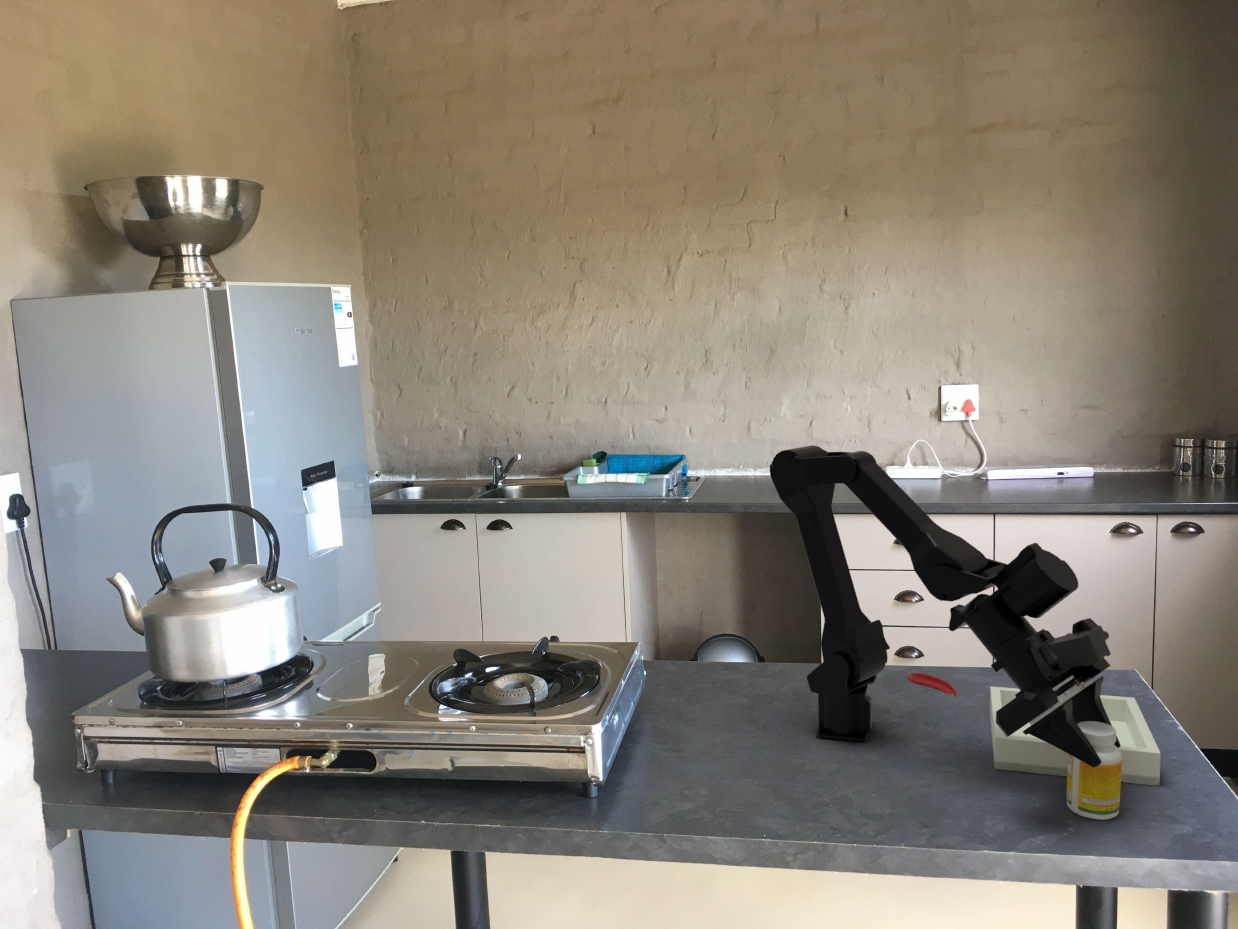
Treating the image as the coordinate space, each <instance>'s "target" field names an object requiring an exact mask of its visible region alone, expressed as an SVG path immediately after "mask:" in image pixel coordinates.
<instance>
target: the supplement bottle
mask: <svg viewBox="0 0 1238 929" xmlns="http://www.w3.org/2000/svg"><path fill="white" fill-rule="evenodd" d="M1077 725H1078V726H1079V728H1080V729H1081V730H1082V732H1083V733H1084V735H1085V736H1086V738H1087V739H1088V741H1089V742H1090V744H1091V745H1092V747H1093V748H1094V749H1095V751H1096V753H1097V754H1098V756H1099V758H1100V759H1101V764H1100V765H1098V766H1096V767H1091V766H1090V765H1088V764H1086V763H1084V762H1082V761H1081V760H1079V759H1077V758H1075V757H1073V756H1072V755H1070V754H1068V770H1067V776H1066V806H1067V807H1068V808H1069V810H1070V811H1071V812H1073V813H1075V815H1079V816H1081V817H1084V818H1088V819H1092V820H1093V819H1094V820H1102V821H1106V820H1110V819H1113V818H1115V817H1117V816H1118V815H1119V812H1120V803H1121V785H1122V784H1121V783H1122V782H1121V766H1122V755H1121V752H1120V750H1119V749H1118V748H1117V747H1116V746H1115V745H1114V744H1115V742H1116V730H1115V728H1114V727H1112V726H1111V725H1108V724H1105V723H1102V722H1096V721H1084V722H1080V723H1078V724H1077Z"/></svg>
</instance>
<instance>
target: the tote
mask: <svg viewBox="0 0 1238 929" xmlns="http://www.w3.org/2000/svg"><path fill="white" fill-rule="evenodd" d="M989 688H990V689H989V690H990V692H989V719H990V720H989V721H990V730H991V743H992V754H993V766H994V767H993V768H994V770H1003V771H1011V772H1020V773H1021V772H1022V773H1032V774H1042V775H1048V776H1049V775H1051V776H1059V777H1060V776H1062V777H1067V770H1068V753H1066V752H1064V751H1063V750H1061V749H1059V748H1057V747H1055V746H1053V745H1051V744H1049V743H1047V742H1045V741H1043V740H1041V739H1039V738H1037V737H1035V736H1033V735H1030V734H1027V735H1025V734H1024V733H1023V731H1024V730H1025V729H1027V728H1028V727H1030V726H1031V724H1030V723H1027V724H1026V725H1024V726H1023V727H1022V728H1020V729H1019V730H1017V731H1016V732H1014V733H1013V734H1011V735H1010V736H1008V737H1007V736H1006V735H1005V734H1004V733H1003V731H1002V730H1001V729H1000V727H999V726H998V725H997V724H996V711H998V710H999V709H1001V708H1002V707H1003V706H1005V705H1006V704H1008V703H1009V702H1010V701H1012V700H1013V699H1015V698H1016V696H1015V695H1016V694H1017V693H1019V692H1020V690H1019V688H1018V687H1017V688H1016V687H1003V686H1001V687H1000V686H991V685H990V687H989ZM1058 698H1059V697H1058ZM1100 698H1101V701H1102V704H1103V706H1104V709H1105V711H1106V714H1107V716H1108V718H1109V720H1110V722H1111V725H1112V727H1114V728H1115V730H1116V736H1117V738H1118V740H1119V742H1120V745H1121V746H1120V747H1119V748H1118V749H1119V750H1120V752H1121V755H1122V766H1121V783H1128V784H1138V785H1147V786H1155V787H1156V786H1157V787H1160V781H1161V777H1160V776H1161V757H1162V756H1161V755H1162V753H1161V751H1160V749H1159V746H1158V745H1157V743H1156V740H1155V739H1154V736H1153V734H1152V732H1151V730H1150V727H1149V726H1148V724H1147V721H1146V719H1145V717H1144V715H1143V713H1142V711H1141V709H1140V706H1139V705H1138V702H1137V701H1136V698H1135V697H1129V696H1118V695H1116V696H1115V695H1105V694H1103V695H1102V694H1100ZM1059 699H1060V698H1059ZM1060 700H1061V699H1060ZM1061 701H1062V700H1061Z"/></svg>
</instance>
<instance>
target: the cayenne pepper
mask: <svg viewBox="0 0 1238 929" xmlns="http://www.w3.org/2000/svg"><path fill="white" fill-rule="evenodd" d="M907 679H908V680H909V681H910V682H911V683H912V684H916V685H919V686H922V687H923V686H924V687H927V686H928V687H927V688H931V687H932V688H931V689H934V688H935V689H934V690H937V689H938V690H937V691H940V690H941V692H942V691H943V692H942V693H945V694H947V693H949V694H954V695H955V696H954V697H955V698H956V697H957V696H958V695H957V696H956V693H958V694H959V692H958V690H956V689H955V688H954V687H953V686H952V685H951V684H950V682H948V681H947V680H945V679H942V678H939V677H936V676H934V675H931V674H927V673H924V672H923V673H922V672H912V671H911V673H910V675H907ZM949 694H948V695H949Z"/></svg>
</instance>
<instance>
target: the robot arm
mask: <svg viewBox="0 0 1238 929" xmlns="http://www.w3.org/2000/svg"><path fill="white" fill-rule="evenodd" d="M769 475H770V479H771V481H772V483H773V486H774V489H775V491H776V494H777V495H778V497H779V499H780V500H781V502H782V503H783V504H784V505H785V506H786V507H787V509H789V511H790V512H791V513H792V514H793V515H794V517H795V519H796V523H797V526H798V530H799V534H800V535H801V536H800V537H801V540H802V543H803V544H802V545H803V548H804V550H805V551H804V552H805V554H806V557H807V561H808V566H809V569H810V571H811V575H812V579H813V583H814V586H815V590H816V592H817V593H816V594H817V597H818V600H819V605H820V607H821V610H822V614H823V618H824V623H823V628H822V634H821V640H820V648H821V656H822V662H821V663H820V664H819V665H818V666H816V668H815V669H813V670H812V671H811V672H810V673H809V674H807V675H806V680H807V683H808V686H809V691H810V692H811V693H814V694H817V707H818V708H817V715H818V717H817V718H818V719H817V720H818V723H817V728H816V732H815V736H816V737H817V738H820V739H821V738H822V739H830V740H831V739H833V740H842V741H852V742H860V743H861V742H866V741H867V736H868V734H869V733H871V732H872V731H871V730H872V726H873V697H872V696H868V685H870V684H874V683H875V682H876V679H877V676H878V674H879V673H881V672H882V671H883V670H884V668H885V666H886V664H887V663H888V660H889V659H888V650H890V649H891V647H890V645H889V644H888V642H887V640H886V638H885V634H884V627H883V624H882V621H881V620H880V619H877V620H874V621H871V620H870V619H869V618H868V616H866V615H865V613H864V612H863V610H862V609H861V607H860V602H859V599H858V595H857V593H856V589H855V586H854V585H855V584H854V581H853V578H852V576H851V574H852V573H851V570H850V568H849V565H848V560H847V557H846V554H845V551H844V547H843V546H844V545H843V544H842V540H841V537H840V533H839V530H838V527H837V524H836V523H837V522H836V518H835V515H834V512H833V506H832V504H833V499H834V493H835V488H836V484H844V485H845V486H846V487H847V488H848V489H849V491H851V492H852V493H853V495H855V496H856V498H857V499H858V500H859V501H860V502H861V503H862V504H863V505H864V506H865V507H866V508H867V510H869V511H870V512H871V514H873V516H874V517H875V518H876V519H877V520H878V521H879V522H880V523H881V525H883V526H884V527H885V529H886V530H888V532H889V533H890V534H891V535H892V536H893V537H894V538H895V539H896V541H898V542H899V543H900V544H901V546H903V548H904V550H905V551H906V552H907V554H908V556H909V558H910V562H911V565H912V567H913V570H914V572H915V574H916V575H917V577H918V579H920V581H921V583H922V585H924V587H925V589H926V590H927V591H928V593H929V594H930V595H931V596H933V598H935V599H937V600H938V601H940V602H942V601H943V602H954V601H958V600H961V599H963V598H965V597H966V598H967V597H968V596H971V595H972V594H974V595H976V594H977V595H976V596H975V597H974V598H972V599H971V600H970V601H969V602H967V603H966V604H965V605H962V604H960V603H959V604H957V605H955V606H953V607H951V608H950V609H949V612H950V618H949V623H948V630H949V631H951V632H955V631H957V630H959V629H960V628H963V627H964V626H967V627H968V628H969V629H970V630H971V631H972V633H973V634H974V635H975V637H976V639H978V640H979V641H980V643H981V644H982V645H983V647H985V649H986V651H987V652H988V653H989V654H990V655H991V656H992V657H993V659H994V660H995V661H994V662H993V663H992V664H991V665H990V667H991V668H992V669H993V670H994V671H995V673H999V672H1000V671H1001V670H1002V671H1004V672H1005V674H1006V675H1007V677H1008V678H1009V679H1010V680H1011V681H1012V683H1013V684H1014V685H1015V686H1016V687H1017V689H1019V690H1020V692H1019V693H1017V694H1016V695H1015V696H1016V698H1015V699H1013V700H1012V701H1010V702H1009V703H1008V704H1006V705H1005V706H1003V707H1002V708H1001V709H999V710H998V711H996V724H997V725H998V726H999V727H1000V729H1001V730H1002V731H1003V733H1004V734H1005V735H1006V736H1007V737H1008V736H1010V735H1011V734H1013V733H1014V732H1016V731H1017V730H1019V729H1020V728H1022V727H1023V726H1024V725H1026V724H1027V723H1030V724H1031V726H1030V727H1028V728H1027V729H1025V730H1024V731H1023V733H1024V734H1025V735H1027V734H1030V735H1033V736H1035V737H1037V738H1039V739H1041V740H1043V741H1045V742H1047V743H1049V744H1051V745H1053V746H1055V747H1057V748H1059V749H1061V750H1063V751H1064V752H1066V753H1068V754H1070V755H1072V756H1073V757H1075V758H1077V759H1079V760H1081V761H1082V762H1084V763H1086V764H1088V765H1090V766H1091V767H1096V766H1098V765H1100V764H1101V759H1100V758H1099V756H1098V754H1097V753H1096V751H1095V749H1094V748H1093V747H1092V745H1091V744H1090V742H1089V741H1088V739H1087V738H1086V736H1085V735H1084V733H1083V732H1082V730H1081V729H1080V728H1079V726H1078V725H1077V724H1078V723H1080V722H1084V721H1096V722H1102V723H1105V724H1108V725H1111V722H1110V720H1109V718H1108V716H1107V714H1106V711H1105V709H1104V706H1103V704H1102V701H1101V698H1100V695H1101V692H1102V685H1103V682H1104V680H1105V679H1104V678H1105V677H1104V675H1102V676H1100V677H1099V678H1098V679H1096V680H1092V679H1093V678H1095V677H1097V675H1100V674H1101V673H1103V672H1104V671H1105V670H1107V669H1108V668H1109V667H1111V664H1110V663H1109V662H1108V661H1107V660H1106V659H1105V657H1109V656H1111V654H1112V653H1111V650H1110V649H1109V646H1108V645H1107V640H1108V639H1109V638H1110V635H1109V632H1108V631H1105V630H1104V629H1103V627H1102V625H1098V623H1096V622H1095V620H1094V619H1092V618H1090V617H1089V618H1085V619H1081V620H1078V621H1076V622H1074V623H1073V624H1072V629H1071V630H1072V631H1071V632H1070V633H1066V634H1065V635H1062V636H1058V637H1054V635H1053V634H1052V633H1051V632H1050V631H1049V630H1047V629H1046V630H1045V629H1044V628H1042V629H1041V630H1039V631H1037V630H1036V629H1035V627H1034V626H1033V625H1032V624H1031V623H1030V622H1029V621H1028V620H1027V618H1026V617H1029V618H1032V619H1040V618H1041V617H1043V616H1044V615H1045V614H1047V613H1048V612H1049V611H1050V610H1052V609H1053V608H1055V607H1056V606H1057V605H1058V604H1059V603H1061V602H1062V601H1063V600H1064V599H1066V598H1067V597H1069V596H1070V595H1071V594H1073V593H1074V592H1075V591H1076V590H1078V588H1079V580H1078V578H1077V575H1076V574H1075V572H1074V569H1072V567H1071V566H1070V565H1069V564H1068V563H1067V562H1066V560H1062V558H1060V557H1058V556H1057V555H1056V554H1054V553H1052V552H1050V551H1047V550H1045V549H1043V548H1042V546H1040V545H1039V544H1038V542H1034V543H1031V544H1027V546H1025V547H1024V548H1023V549H1021V550H1020V551H1019V553H1018V555H1017V556H1016V557H1015V558H1014V559H1012V560H1011V561H1010V562H1009V563H1008V564H1007V563H1005V562H1002V561H999V560H998V561H997V560H994V559H991V558H987V557H986V556H985V554H983V552H981V551H980V550H979V549H978V548H976V547H975V546H974V545H972V543H970V542H968V541H966V539H965V538H963V537H961V536H959V535H957V534H955V533H953V532H951V531H948V530H946V529H944V528H942V527H941V526H940V525H938V524H937V523H936V522H935V521H934V520H932V518H930V516H929V515H928V514H927V513H926V512H925V511H924V510H923V509H922V508H921V507H920V506H919V505H918V504H917V502H915V501H914V499H912V498H911V497H910V496H909V494H907V493H906V492H905V491H904V490H903V489H902V487H900V485H899V484H897V483H896V481H895V480H894V479H893V478H892V477H891V476H889V474H888V473H887V472H886V471H885V470H884V469H883V468H882V467H881V466H880V465H879V464H878V463H877V460H876V458H875V457H874V455H873V454H871V453H869V452H868V451H864V450H857V451H853V452H851V451H827V450H826V449H823V448H822V447H820V446H818V445H814V444H813V445H806V446H802V447H795V448H790V449H789V448H788V449H784V450H780V451H778V452H777V453H776V454H775V456H774V457H773V459H772V462H771V463H770V464H769ZM993 587H996V588H997V589H996V590H995V591H994V592H992V593H991V594H986V593H982V592H984V591H986V590H988V589H991V588H993ZM979 593H980V594H979ZM1058 697H1059V698H1060V699H1061V700H1062V701H1061V700H1060V699H1059V698H1058ZM1111 726H1112V725H1111ZM1114 745H1115V746H1116V747H1117V748H1119V747H1120V746H1121V745H1120V742H1119V740H1118V738H1117V736H1116V742H1115V744H1114Z"/></svg>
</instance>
